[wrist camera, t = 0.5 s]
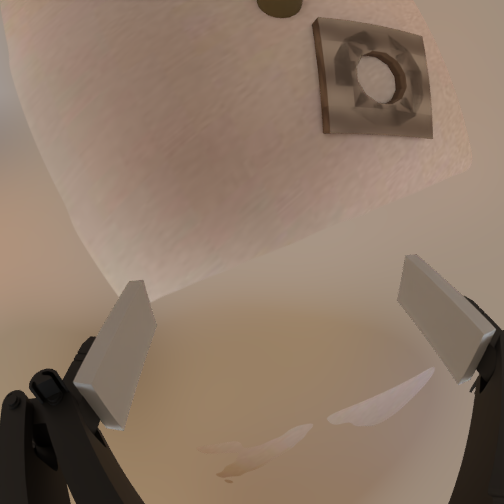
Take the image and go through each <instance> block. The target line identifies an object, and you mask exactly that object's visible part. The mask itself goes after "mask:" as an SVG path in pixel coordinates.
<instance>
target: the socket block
mask: <svg viewBox="0 0 504 504" xmlns="http://www.w3.org/2000/svg"><path fill="white" fill-rule="evenodd" d="M312 27H313V34H314V41H315V48H316V56H317V65H318V74H319V83H320V94H321V106H322V119H323V133H349V134H377V135H394V136H407V137H418V138H427V139H433V127H432V108H431V95H430V85H429V76H428V68H427V61H426V55H425V49H424V44H423V38H422V36H419V35H416V34H412V33H408V32H404V31H400V30H396V29H392V28H388V27H383V26H378V25H373V24H367V23H362V22H355V21H348V20H341V19H332V18H321V17H318V18H317V19H316V20H315V22H314V23H313V24H312ZM364 55H365V56H372V57H377V58H378V59H380V60H381V61H383V62H384V63H385V64H387V65H388V66H389V68H390V70H391V71H392V73H393V75H394V76H395V83H396V91H395V93H394V96H393V98H392V100H391V101H389V102H387V103H385V104H383V103H378V102H376V101H375V100H374V99H372V98H371V97H369V96H368V95H366V93H365V92H364V90H363V88H362V87H361V85H360V84H359V82H358V77H357V68H356V66H357V64H358V62H359V60H360V58H361V56H364Z"/></svg>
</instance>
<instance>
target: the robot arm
mask: <svg viewBox="0 0 504 504" xmlns="http://www.w3.org/2000/svg"><path fill="white" fill-rule="evenodd" d="M397 301H398V302H399V303H400V305H401V306H402V307H403V309H404V310H405V311H406V313H407V314H408V315H409V316H410V318H411V319H412V320H413V322H414V323H415V324H416V326H417V327H418V328H419V330H420V331H421V332H422V334H423V335H424V336H425V338H426V339H427V341H428V342H429V343H430V345H431V346H432V347H433V349H434V350H435V352H436V353H437V354H438V356H439V357H440V359H441V360H442V361H443V363H444V364H445V366H446V367H447V369H448V370H449V372H450V373H451V375H452V376H453V378H454V379H455V381H456V382H457V384H458V385H459V384H461V383H464V382H466V381H468V380H470V379H471V377H472V376H473V374H474V372H475V370H477V371H478V372H479V376H478V377H477V379H476V381H475V382H474V384H473V386H472V387H471V389H470V392H472V391H473V389H474V388H475V387H476V391H475V399H474V406H473V413H472V419H471V425H470V430H469V435H468V440H467V444H466V448H465V452H464V457H463V460H462V464H461V467H460V471H459V474H458V477H457V481H456V484H455V487H454V490H453V493H452V496H451V498H450V501H449V503H448V504H504V330H503V331H502V330H501V329H500V328H499V327H498V325H497V324H496V323H495V322H494V321H493V320H492V319H491V318H490V317H489V316H488V315H487V314H486V313H484V311H483V310H482V309H481V308H479V306H478V305H477V304H476V303H475V302H474V301H473V300H471V299H469V298H467V297H465V296H463V295H462V294H461V293H459V292H458V291H457V290H456V289H455V288H454V287H453V286H452V285H451V284H450V283H449V282H448V281H447V280H446V279H444V278H443V277H442V276H441V275H440V274H439V273H438V272H437V271H435V270H434V269H433V268H432V267H431V266H430V265H429V264H427V263H426V262H425V261H424V260H423V259H422V258H420V257H419V256H418V255H417V254H415V255H407V256H405V260H404V266H403V272H402V277H401V283H400V288H399V294H398V298H397ZM156 327H157V324H156V321H155V318H154V315H153V311H152V308H151V305H150V301H149V298H148V295H147V291H146V288H145V284H144V281H143V280H138V281H129V283H128V284H127V286H126V287H125V289H124V291H123V292H122V294H121V295H120V297H119V299H118V300H117V302H116V304H115V305H114V307H113V309H112V311H111V312H110V314H109V316H108V317H107V319H106V321H105V323H104V324H103V326H102V328H101V330H100V331H99V333H98V335H97V337H90V338H88V339H87V340H86V341H85V342H84V343H83V344H82V346H81V347H80V349H79V351H78V354H77V355H76V356H75V358H74V361H73V362H72V363H71V365H70V367H69V369H68V371H67V373H66V375H65V376H64V378H63V380H62V379H61V378H60V376H59V375H58V373H57V371H55V370H53V369H44V370H41V371H40V372H38V373H36V374H35V375H34V376H33V377H32V379H31V381H30V383H29V389H30V390H31V392H32V393H33V394H34V396H35V397H36V398H33V399H28V397H27V396H26V395H25V393H24V392H22V391H20V390H15V391H12V392H10V393H9V394H8V395H7V396H6V397H5V399H4V401H3V404H2V410H1V418H0V504H71V503H70V498H69V493H68V488H67V485H68V487H69V489H70V492H71V494H72V496H73V498H74V500H75V502H76V504H145V503H144V502H143V501H142V499H141V498H140V496H139V495H138V493H137V492H136V491H135V489H134V487H133V486H132V485H131V483H130V481H129V480H128V478H127V477H126V475H125V474H124V472H123V470H122V469H121V467H120V465H119V464H118V462H117V460H116V459H115V457H114V455H113V453H112V452H111V450H110V448H109V446H108V444H107V442H106V440H105V438H104V436H103V435H102V433H101V431H100V430H99V429H98V425H99V422H100V420H101V422H102V423H103V424H104V425H105V426H106V428H110V429H116V430H123V431H124V428H125V424H126V421H127V417H128V414H129V410H130V407H131V404H132V400H133V397H134V393H135V390H136V387H137V384H138V380H139V377H140V374H141V371H142V368H143V365H144V361H145V358H146V356H147V352H148V350H149V347H150V344H151V341H152V338H153V335H154V332H155V329H156Z"/></svg>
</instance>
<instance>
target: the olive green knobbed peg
mask: <svg viewBox="0 0 504 504" xmlns="http://www.w3.org/2000/svg"><path fill="white" fill-rule="evenodd" d="M257 3H258V6H259V8H260V9H261V10H262V11H263V12H264V13H266V14H268V15H270V16H273V17H276V18H287V17H291V16H293V15H295V14H296V13H298V12H299V10H300V8H301V6H302V0H257Z"/></svg>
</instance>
